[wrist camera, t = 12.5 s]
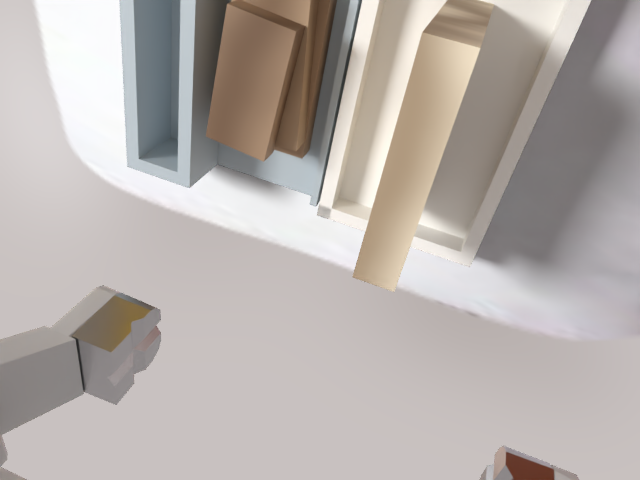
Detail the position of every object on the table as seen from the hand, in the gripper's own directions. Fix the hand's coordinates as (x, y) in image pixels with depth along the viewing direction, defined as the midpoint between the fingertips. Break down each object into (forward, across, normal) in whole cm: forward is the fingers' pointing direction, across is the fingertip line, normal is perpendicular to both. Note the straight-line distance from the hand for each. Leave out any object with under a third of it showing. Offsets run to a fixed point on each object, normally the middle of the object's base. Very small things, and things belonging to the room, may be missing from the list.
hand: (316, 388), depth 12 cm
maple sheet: (+20, 0, 0) cm, 20 cm away
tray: (+21, 0, 0) cm, 21 cm away
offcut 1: (+17, +9, 0) cm, 19 cm away
